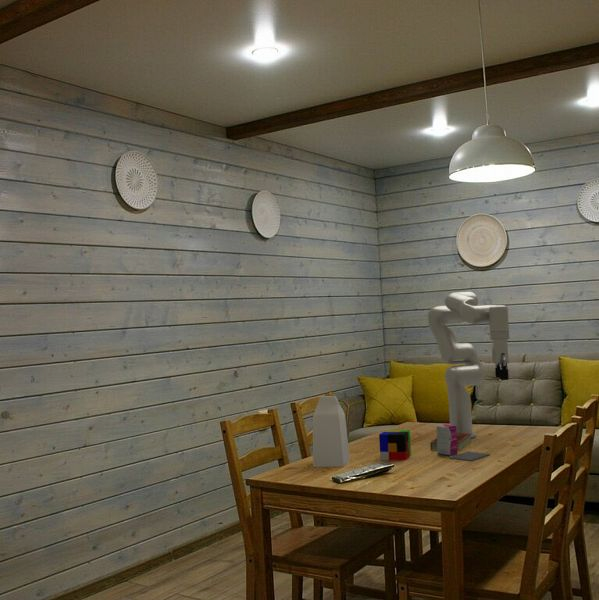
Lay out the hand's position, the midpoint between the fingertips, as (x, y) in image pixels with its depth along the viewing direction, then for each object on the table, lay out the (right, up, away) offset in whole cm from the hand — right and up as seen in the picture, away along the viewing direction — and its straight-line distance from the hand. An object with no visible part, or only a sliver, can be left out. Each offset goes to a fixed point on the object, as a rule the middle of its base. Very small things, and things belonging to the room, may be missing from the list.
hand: (502, 378), depth 298 cm
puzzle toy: (-43, -31, -7) cm, 54 cm away
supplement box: (-23, -30, -6) cm, 38 cm away
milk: (-69, -32, -11) cm, 77 cm away
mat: (-16, -29, -13) cm, 35 cm away
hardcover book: (-18, -30, +12) cm, 37 cm away
